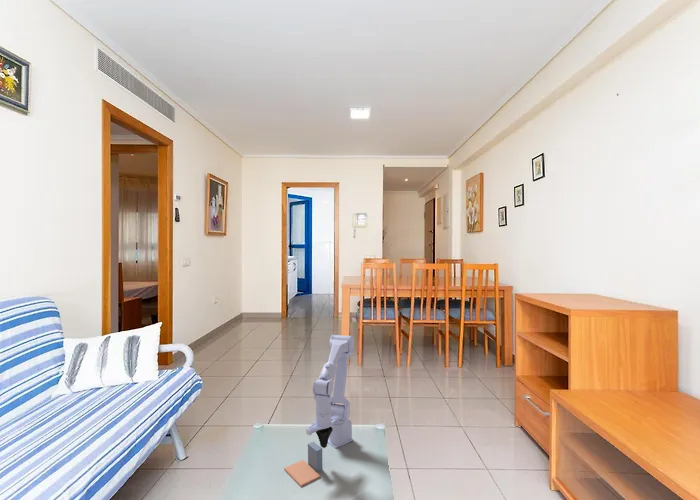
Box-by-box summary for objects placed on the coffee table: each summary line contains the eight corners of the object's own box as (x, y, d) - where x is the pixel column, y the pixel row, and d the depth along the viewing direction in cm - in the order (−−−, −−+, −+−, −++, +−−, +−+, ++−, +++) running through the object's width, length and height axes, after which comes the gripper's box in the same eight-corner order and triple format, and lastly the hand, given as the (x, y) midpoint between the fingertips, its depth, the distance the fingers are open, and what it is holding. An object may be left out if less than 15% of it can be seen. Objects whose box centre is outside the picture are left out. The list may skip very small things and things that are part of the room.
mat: (302, 461, 138) (302, 459, 138) (320, 477, 128) (320, 475, 128) (284, 469, 133) (284, 468, 133) (300, 486, 124) (300, 485, 124)
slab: (313, 462, 137) (313, 441, 137) (322, 469, 133) (322, 448, 132) (308, 464, 136) (307, 443, 136) (316, 472, 131) (316, 451, 131)
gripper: (331, 401, 144) (331, 435, 144) (301, 413, 134) (301, 449, 134) (342, 407, 139) (343, 442, 139) (312, 420, 129) (313, 457, 129)
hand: (323, 446), depth 136 cm, fingers closed
